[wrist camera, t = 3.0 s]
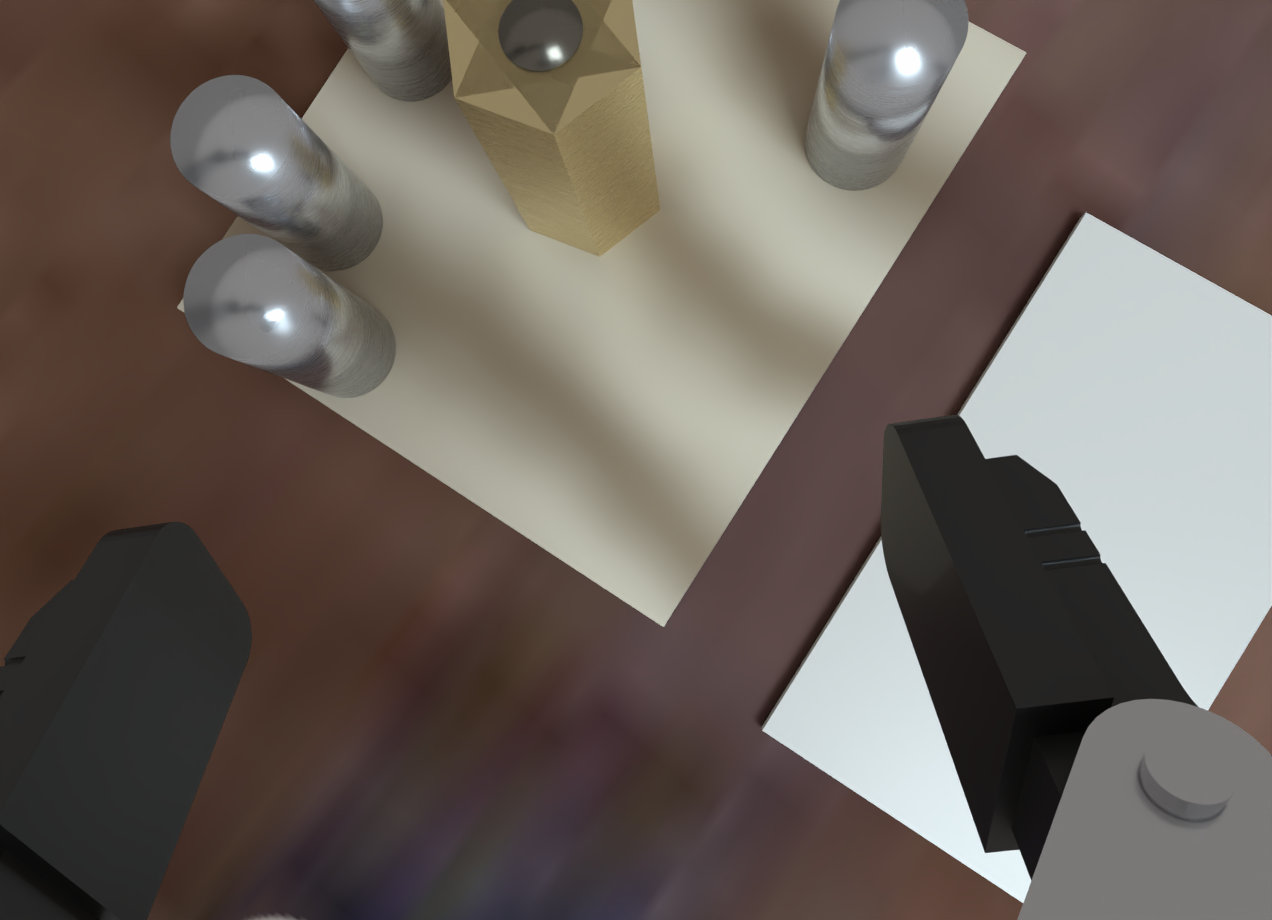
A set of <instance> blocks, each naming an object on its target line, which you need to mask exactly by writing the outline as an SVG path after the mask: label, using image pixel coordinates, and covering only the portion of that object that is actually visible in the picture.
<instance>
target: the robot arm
mask: <svg viewBox="0 0 1272 920" xmlns="http://www.w3.org/2000/svg"><path fill="white" fill-rule="evenodd" d="M881 538H882V547H883V553H884V559H885V564H886V568H887V572H888V575H889V579H890V582H891V585H892V587H893V590H894V593H895V596H896V599H897V602H898V605H899V608H900V610H901V613H902V616H903V619H904V622H905V625H906V628H907V631H908V633H909V636H910V639H911V642H912V645H913V648H914V651H915V654H916V656H917V659H918V662H919V665H920V668H921V671H922V674H923V677H924V679H925V682H926V685H927V688H928V691H929V694H930V697H931V700H932V702H933V705H934V708H935V711H936V714H937V717H938V720H939V723H940V725H941V728H942V731H943V734H944V737H945V740H946V743H947V746H948V748H949V751H950V754H951V757H952V760H953V763H954V766H955V769H956V771H957V774H958V777H959V780H960V783H961V786H962V789H963V792H964V794H965V797H966V800H967V803H968V806H969V809H970V812H971V815H972V817H973V820H974V823H975V826H976V829H977V832H978V835H979V838H980V840H981V843H982V846H983V849H984V852H985V853H992V852H1002V851H1011V850H1020V852H1021V855H1022V858H1023V860H1024V863H1025V866H1026V868H1027V871H1028V874H1029V876H1030V879H1031V883H1030V886H1029V889H1028V892H1027V895H1026V897H1025V900H1024V903H1023V906H1022V908H1021V911H1020V914H1019V917H1018V920H1272V755H1271V754H1270V753H1269V752H1268V751H1267V750H1266V749H1265V748H1264V747H1263V746H1262V745H1261V744H1260V743H1259V742H1258V741H1256V740H1255V739H1254V738H1253V737H1252V736H1251V735H1249V734H1248V733H1246V732H1245V731H1244V730H1242V729H1241V728H1240V727H1238V726H1237V725H1235V724H1233V723H1231V722H1230V721H1228V720H1226V719H1224V718H1223V717H1221V716H1219V715H1216V714H1214V713H1212V712H1210V711H1207V710H1205V709H1203V708H1199V707H1198V706H1197V704H1196V703H1195V702H1194V701H1193V700H1192V699H1191V698H1190V696H1189V695H1188V694H1187V692H1186V691H1185V689H1184V688H1183V687H1182V685H1181V683H1180V682H1179V680H1178V679H1177V677H1176V675H1175V674H1174V672H1173V671H1172V669H1171V667H1170V666H1169V664H1168V663H1167V661H1166V659H1165V658H1164V656H1163V654H1162V653H1161V651H1160V650H1159V648H1158V646H1157V645H1156V643H1155V642H1154V640H1153V638H1152V637H1151V635H1150V634H1149V632H1148V630H1147V629H1146V627H1145V625H1144V624H1143V622H1142V621H1141V619H1140V617H1139V616H1138V614H1137V613H1136V611H1135V609H1134V608H1133V606H1132V605H1131V603H1130V601H1129V600H1128V598H1127V596H1126V595H1125V593H1124V592H1123V590H1122V588H1121V587H1120V585H1119V584H1118V582H1117V580H1116V579H1115V577H1114V576H1113V574H1112V572H1111V571H1110V569H1109V567H1108V566H1107V564H1106V563H1102V562H1101V558H1100V553H1099V551H1098V550H1097V548H1096V546H1095V545H1094V543H1093V542H1092V540H1091V538H1090V537H1089V535H1088V534H1087V532H1086V530H1084V531H1082V529H1081V522H1080V521H1079V519H1078V517H1077V516H1076V514H1075V513H1074V511H1073V509H1072V508H1071V506H1070V505H1069V503H1068V501H1067V500H1066V498H1065V497H1064V495H1063V493H1062V492H1061V490H1060V488H1059V487H1058V485H1057V484H1056V483H1054V482H1053V481H1052V480H1050V479H1049V478H1048V477H1046V476H1045V475H1043V474H1042V473H1041V472H1039V471H1038V470H1037V469H1035V468H1034V467H1033V466H1031V465H1030V464H1029V463H1027V462H1026V461H1025V460H1023V459H1022V458H1020V457H1019V456H1018V455H1011V456H1003V457H996V458H989V459H985V457H984V456H983V454H982V452H981V450H980V448H979V446H978V444H977V443H976V441H975V439H974V437H973V435H972V433H971V432H970V430H969V428H968V426H967V424H966V423H965V421H964V420H963V419H962V417H960V416H959V415H950V416H943V417H936V418H929V419H922V420H914V421H907V422H900V423H893V424H888V425H887V427H886V429H885V434H884V448H883V475H882V502H881ZM251 641H252V633H251V624H250V619H249V616H248V613H247V610H246V608H245V606H244V604H243V603H242V601H241V600H240V598H239V597H238V595H237V594H236V592H235V591H234V589H233V588H232V586H231V585H230V583H229V582H228V580H227V579H226V577H225V576H224V574H223V573H222V572H221V570H220V569H219V567H218V566H217V564H216V563H215V561H214V560H213V558H212V557H211V555H210V554H209V552H208V551H207V549H206V548H205V546H204V545H203V543H202V542H201V540H200V539H199V538H198V536H197V535H196V533H195V532H194V531H193V530H192V529H191V528H190V527H189V526H188V525H186V524H184V523H181V522H169V523H162V524H155V525H148V526H141V527H134V528H126V529H119V530H114V531H111V532H109V533H107V534H106V535H105V536H103V537H102V538H101V540H100V541H99V542H98V544H97V545H96V547H95V548H94V550H93V551H92V553H91V555H90V556H89V558H88V559H87V561H86V562H85V564H84V566H83V567H82V569H81V570H80V572H79V574H78V575H77V577H76V578H75V580H73V581H70V582H69V583H68V584H67V585H66V586H65V587H64V588H63V589H62V590H61V591H59V592H58V593H57V594H56V595H55V596H54V597H53V598H52V599H51V600H50V601H49V602H48V603H47V604H46V605H44V606H43V607H42V608H41V609H40V610H39V611H38V612H37V613H36V614H35V615H34V616H33V617H32V618H31V619H30V620H29V622H28V623H27V625H26V626H25V628H24V629H23V631H22V632H21V634H20V636H19V637H18V639H17V640H16V642H15V643H14V645H13V646H12V648H11V649H10V651H9V652H8V654H7V655H6V657H5V658H4V660H5V666H4V667H0V920H147V918H148V915H149V913H150V910H151V908H152V905H153V902H154V900H155V897H156V895H157V892H158V890H159V887H160V884H161V882H162V879H163V877H164V874H165V872H166V869H167V866H168V864H169V861H170V859H171V856H172V854H173V851H174V848H175V846H176V843H177V841H178V838H179V835H180V833H181V830H182V828H183V825H184V823H185V820H186V817H187V815H188V812H189V810H190V807H191V805H192V802H193V799H194V797H195V794H196V792H197V789H198V787H199V784H200V781H201V779H202V776H203V774H204V771H205V769H206V766H207V763H208V761H209V758H210V756H211V753H212V751H213V748H214V745H215V743H216V740H217V738H218V735H219V733H220V730H221V727H222V725H223V722H224V720H225V717H226V715H227V712H228V709H229V707H230V704H231V702H232V699H233V697H234V694H235V691H236V689H237V686H238V684H239V681H240V678H241V676H242V673H243V671H244V668H245V666H246V663H247V660H248V657H249V654H250V649H251Z"/></svg>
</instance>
